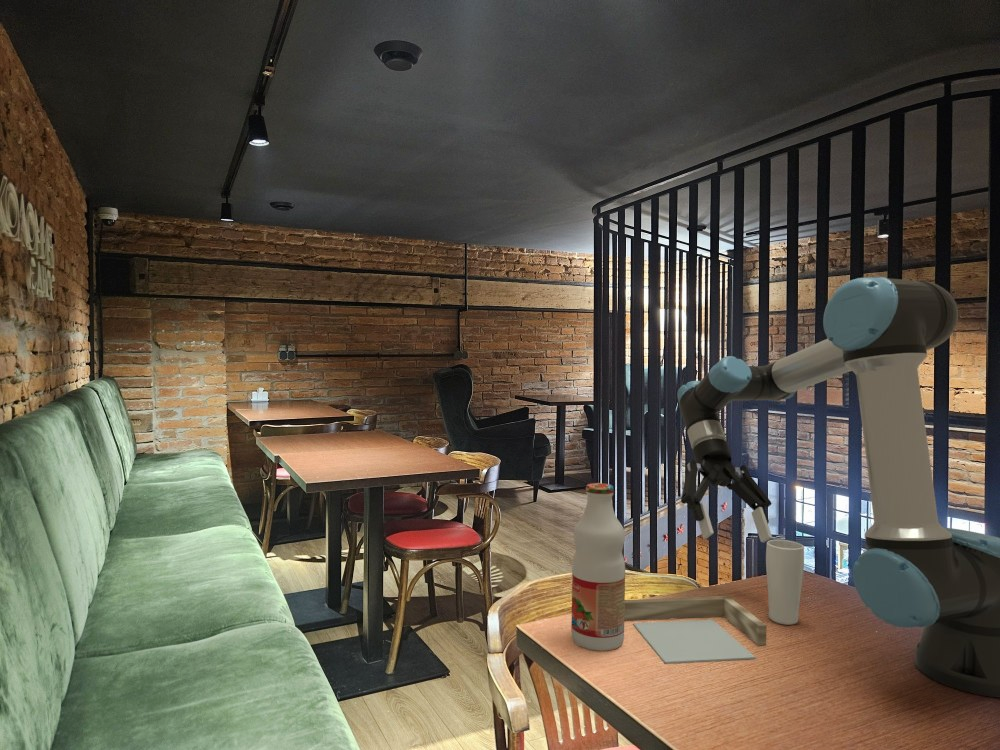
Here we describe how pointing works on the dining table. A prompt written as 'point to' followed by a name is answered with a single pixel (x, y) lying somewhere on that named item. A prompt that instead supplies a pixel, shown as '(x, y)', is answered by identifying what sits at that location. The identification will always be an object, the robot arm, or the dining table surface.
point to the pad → (692, 641)
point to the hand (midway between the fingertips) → (738, 538)
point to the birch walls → (698, 612)
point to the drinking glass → (784, 580)
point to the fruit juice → (598, 574)
